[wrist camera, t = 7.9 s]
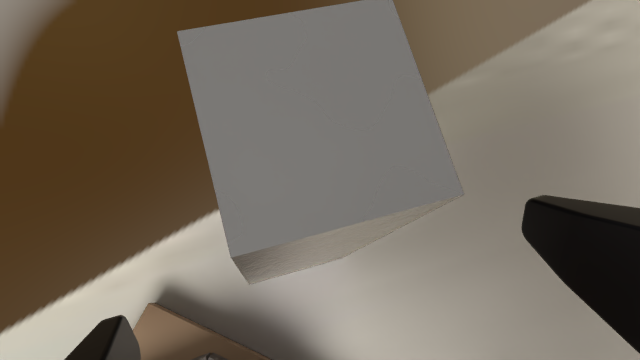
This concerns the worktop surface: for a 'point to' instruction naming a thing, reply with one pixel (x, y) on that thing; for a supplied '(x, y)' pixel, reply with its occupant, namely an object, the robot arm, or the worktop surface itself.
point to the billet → (315, 133)
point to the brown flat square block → (184, 339)
